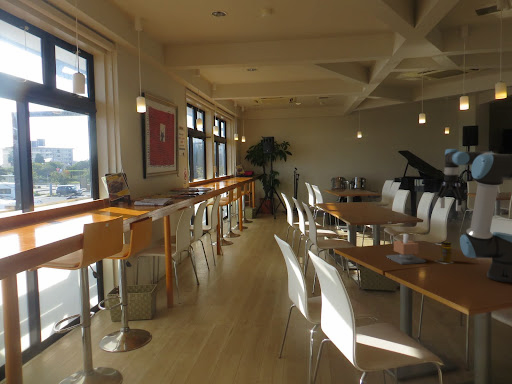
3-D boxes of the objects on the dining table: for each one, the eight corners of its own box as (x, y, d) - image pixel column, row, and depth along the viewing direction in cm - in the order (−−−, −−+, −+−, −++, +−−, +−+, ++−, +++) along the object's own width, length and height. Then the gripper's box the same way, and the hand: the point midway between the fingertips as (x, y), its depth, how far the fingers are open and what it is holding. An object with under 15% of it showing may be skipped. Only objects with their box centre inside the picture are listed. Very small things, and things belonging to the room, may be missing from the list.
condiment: (454, 262, 222) (455, 242, 221) (444, 264, 218) (445, 244, 218) (443, 259, 229) (444, 240, 228) (434, 261, 225) (434, 241, 224)
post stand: (425, 262, 222) (426, 236, 221) (401, 264, 219) (402, 237, 217) (409, 256, 238) (409, 231, 236) (386, 257, 234) (386, 232, 233)
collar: (418, 253, 224) (418, 243, 223) (403, 254, 222) (403, 244, 221) (408, 249, 234) (408, 240, 233) (393, 250, 231) (393, 241, 231)
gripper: (472, 175, 215) (471, 211, 216) (442, 173, 239) (441, 206, 241) (461, 175, 213) (460, 212, 215) (431, 174, 237) (430, 207, 239)
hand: (450, 209), depth 228 cm, fingers open, 13 cm apart
